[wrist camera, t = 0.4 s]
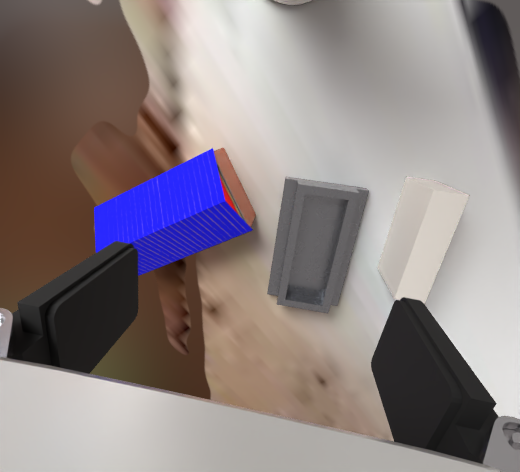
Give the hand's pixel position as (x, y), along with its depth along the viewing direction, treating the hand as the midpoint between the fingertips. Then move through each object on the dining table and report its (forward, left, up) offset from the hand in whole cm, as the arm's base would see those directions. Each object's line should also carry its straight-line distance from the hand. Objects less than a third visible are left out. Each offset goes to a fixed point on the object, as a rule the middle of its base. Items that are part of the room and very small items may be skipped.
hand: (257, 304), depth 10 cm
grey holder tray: (+12, +6, -35) cm, 37 cm away
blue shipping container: (+9, -15, -35) cm, 39 cm away
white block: (+7, +19, -35) cm, 40 cm away
